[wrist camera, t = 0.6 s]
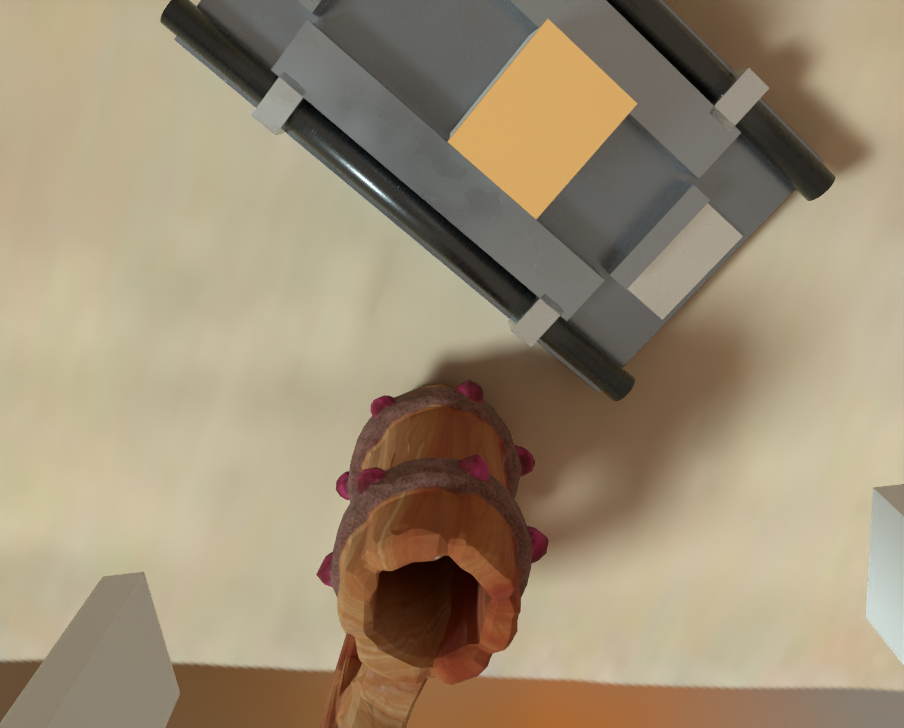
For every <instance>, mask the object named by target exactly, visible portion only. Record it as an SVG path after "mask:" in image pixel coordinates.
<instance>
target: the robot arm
mask: <svg viewBox="0 0 904 728" xmlns="http://www.w3.org/2000/svg"><path fill="white" fill-rule="evenodd" d="M866 618H867V620H868V621H869V622H870V623H871V625H872V626H873V627H874V628H875V630H876V631H877V632H878V634H879V635H880V636H881V637H882V639H883V640H884V641H885V642H886V644H887V645H888V646H889V647H890V649H891V650H892V651H893V652H894V654H895V655H896V656H897V657H898V659H899V660H900V661H901V662H902V664H903V665H904V484H900V485H892V486H883V487H874V488H873V497H872V515H871V534H870V552H869V571H868V589H867V608H866ZM179 695H180V692H179V688H178V685H177V682H176V678H175V675H174V671H173V668H172V665H171V661H170V658H169V655H168V651H167V648H166V644H165V641H164V638H163V634H162V631H161V628H160V624H159V621H158V618H157V614H156V611H155V607H154V604H153V601H152V597H151V594H150V591H149V587H148V584H147V580H146V577H145V574H144V572H139V573H130V574H122V575H113V576H104V577H102V578H101V580H100V581H99V583H98V584H97V586H96V587H95V588H94V590H93V591H92V593H91V594H90V596H89V597H88V598H87V600H86V601H85V603H84V604H83V606H82V607H81V608H80V610H79V611H78V613H77V614H76V616H75V617H74V618H73V620H72V621H71V623H70V624H69V626H68V627H67V628H66V630H65V631H64V633H63V634H62V636H61V637H60V638H59V640H58V641H57V643H56V644H55V645H54V647H53V648H52V650H51V651H50V653H49V654H48V655H47V657H46V658H45V660H44V661H43V663H42V664H41V666H40V667H39V668H38V670H37V671H36V673H35V674H34V675H33V677H32V678H31V680H30V681H29V683H28V684H27V685H26V687H25V688H24V690H23V691H22V693H21V694H20V695H19V697H18V698H17V700H16V701H15V703H14V704H13V705H12V707H11V708H10V710H9V711H8V713H7V714H6V716H5V717H4V718H3V720H2V721H1V723H0V728H165V727H166V724H167V722H168V720H169V717H170V715H171V713H172V710H173V708H174V706H175V704H176V701H177V699H178V697H179Z"/></svg>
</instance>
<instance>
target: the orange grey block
mask: <svg viewBox="0 0 904 728" xmlns="http://www.w3.org/2000/svg"><path fill="white" fill-rule="evenodd" d="M636 105H637V103H636V102H635V101H634V100H633V99H632V98H631V97H630V96H629V95H628V94H627V93H626V92H625V91H624V90H623V89H622V88H620V87H619V86H618V85H617V84H616V83H615V82H614V81H613V80H612V79H611V78H610V77H609V76H608V75H607V74H606V73H605V72H604V71H603V70H602V69H601V68H599V67H598V66H597V65H596V64H595V63H594V62H593V61H592V60H591V59H590V58H589V57H588V56H587V55H586V54H585V53H584V52H583V51H582V50H581V49H580V48H578V47H577V46H576V45H575V44H574V43H573V42H572V41H571V40H570V39H569V38H568V37H567V36H566V35H565V34H564V33H563V32H562V31H561V30H560V29H558V28H557V27H556V26H555V25H554V24H553V23H552V22H551V21H550V20H549V19H547V20H546V21H545V22H544V23H543V24H542V25H541V27H539V28H538V29H537V30H535V31H534V32H533V33H532V34H530V35H529V36H528V37H527V39H526V40H525V41H524V42H523V44H522V45H521V46H520V47H519V48H518V50H517V51H516V52H515V53H514V55H513V56H512V57H511V58H510V60H509V61H508V62H507V63H506V64H505V66H504V67H503V68H502V69H501V71H500V72H499V73H498V74H497V76H496V77H495V78H494V79H493V81H492V82H491V83H490V84H489V85H488V87H487V88H486V89H485V90H484V92H483V93H482V94H481V95H480V97H479V98H478V99H477V100H476V101H475V103H474V104H473V105H472V106H471V108H470V109H469V110H468V111H467V113H466V114H465V115H464V116H463V117H462V119H461V120H460V121H459V122H458V124H457V125H456V126H455V127H454V129H453V130H452V131H451V132H450V139H449V140H448V143H449V144H450V145H452V146H453V147H454V148H455V149H456V150H457V151H458V152H460V153H461V154H462V155H463V156H464V157H465V158H466V159H467V160H469V161H470V162H471V163H472V164H473V165H474V166H475V167H477V168H478V169H479V170H480V171H481V172H482V173H483V174H485V175H486V176H487V177H488V178H489V179H490V180H491V181H493V182H494V183H495V184H496V185H497V186H498V187H499V188H501V189H502V190H503V191H504V192H505V193H506V194H507V195H509V196H510V197H511V198H512V199H513V200H514V201H515V202H517V203H518V204H519V205H520V206H521V207H522V208H523V209H525V210H526V211H527V212H528V213H529V214H530V215H531V216H533V217H534V218H535V219H537V218H538V217H539V216H540V215H541V213H542V212H543V211H544V210H545V209H546V208H547V207H548V205H549V204H550V203H551V202H552V201H553V200H554V199H555V197H556V196H557V195H558V194H559V193H560V192H561V191H562V189H563V188H564V187H565V186H566V185H567V184H568V183H569V181H570V180H571V179H572V178H573V177H574V176H575V175H576V174H577V172H578V171H579V170H580V169H581V168H582V167H583V166H584V164H585V163H586V162H587V161H588V160H589V159H590V158H591V156H592V155H593V154H594V153H595V152H596V151H597V150H598V148H599V147H600V146H601V145H602V144H603V143H604V142H605V140H606V139H607V138H608V137H609V136H610V135H611V134H612V132H613V131H614V130H615V129H616V128H617V127H618V126H619V124H620V123H621V122H622V121H623V120H624V119H625V118H626V116H627V115H628V114H629V113H630V112H631V111H632V110H633V108H634V107H635V106H636Z"/></svg>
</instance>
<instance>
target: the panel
mask: <svg viewBox="0 0 904 728" xmlns="http://www.w3.org/2000/svg"><path fill="white" fill-rule="evenodd" d="M547 19H549V20H550V21H551V22H552V23H553V24H554V25H555V26H556V27H557V28H558V29H560V30H561V31H562V32H563V33H564V34H565V35H566V36H567V37H568V38H569V39H570V40H571V41H572V42H573V43H574V44H575V45H576V46H577V47H578V48H580V49H581V50H582V51H583V52H584V53H585V54H586V55H587V56H588V57H589V58H590V59H591V60H592V61H593V62H594V63H595V64H596V65H597V66H598V67H599V68H601V69H602V70H603V71H604V72H605V73H606V74H607V75H608V76H609V77H610V78H611V79H612V80H613V81H614V82H615V83H616V84H617V85H618V86H619V87H620V88H622V89H623V90H624V91H625V92H626V93H627V94H628V95H629V96H630V97H631V98H632V99H633V100H634V101H635V102H636V103H637V105H636V106H635V107H634V108H633V110H632V111H631V112H630V113H629V114H628V115H627V116H626V118H625V119H624V120H623V121H622V122H621V123H620V124H619V126H618V127H617V128H616V129H615V130H614V131H613V132H612V134H611V135H610V136H609V137H608V138H607V139H606V140H605V142H604V143H603V144H602V145H601V146H600V147H599V148H598V150H597V151H596V152H595V153H594V154H593V155H592V156H591V158H590V159H589V160H588V161H587V162H586V163H585V164H584V166H583V167H582V168H581V169H580V170H579V171H578V172H577V174H576V175H575V176H574V177H573V178H572V179H571V180H570V181H569V183H568V184H567V185H566V186H565V187H564V188H563V189H562V191H561V192H560V193H559V194H558V195H557V196H556V197H555V199H554V200H553V201H552V202H551V203H550V204H549V205H548V207H547V208H546V209H545V210H544V211H543V212H542V213H541V215H540V216H539V217H538V218H537V219H535V218H534V217H533V216H531V215H530V214H529V213H528V212H527V211H526V210H525V209H523V208H522V207H521V206H520V205H519V204H518V203H517V202H515V201H514V200H513V199H512V198H511V197H510V196H509V195H507V194H506V193H505V192H504V191H503V190H502V189H501V188H499V187H498V186H497V185H496V184H495V183H494V182H493V181H491V180H490V179H489V178H488V177H487V176H486V175H485V174H483V173H482V172H481V171H480V170H479V169H478V168H477V167H475V166H474V165H473V164H472V163H471V162H470V161H469V160H467V159H466V158H465V157H464V156H463V155H462V154H461V153H460V152H458V151H457V150H456V149H455V148H454V147H453V146H452V145H450V144H449V143H448V140H449V139H450V132H451V131H452V130H453V129H454V127H455V126H456V125H457V124H458V122H459V121H460V120H461V119H462V117H463V116H464V115H465V114H466V113H467V111H468V110H469V109H470V108H471V106H472V105H473V104H474V103H475V101H476V100H477V99H478V98H479V97H480V95H481V94H482V93H483V92H484V90H485V89H486V88H487V87H488V85H489V84H490V83H491V82H492V81H493V79H494V78H495V77H496V76H497V74H498V73H499V72H500V71H501V69H502V68H503V67H504V66H505V64H506V63H507V62H508V61H509V60H510V58H511V57H512V56H513V55H514V53H515V52H516V51H517V50H518V48H519V47H520V46H521V45H522V44H523V42H524V41H525V40H526V39H527V37H528V36H529V35H530V34H532V33H533V32H534V31H535V30H537V29H538V28H539V27H541V25H542V24H543V23H544V22H545V21H546V20H547ZM161 23H162V24H163V25H164V26H166V27H167V28H168V29H169V30H170V31H172V32H173V33H174V34H175V35H176V38H175V39H174V40H175V41H177V42H178V43H179V44H180V45H181V46H183V47H184V48H185V49H186V50H187V51H189V52H190V53H191V54H192V55H193V56H195V57H196V58H197V59H198V60H199V61H201V62H202V63H203V64H204V65H205V66H207V67H208V68H209V69H210V70H211V71H213V72H214V73H215V74H216V75H217V76H219V77H220V78H221V79H222V80H223V81H225V82H226V83H227V84H228V85H229V86H231V87H232V88H233V89H234V90H235V91H237V92H238V93H239V94H240V95H241V96H243V97H244V98H245V99H246V100H248V101H249V102H250V103H251V104H252V105H254V106H255V107H256V109H255V110H254V112H253V113H252V116H253V117H254V118H255V119H256V120H258V121H259V122H260V123H261V124H263V125H264V126H265V127H266V128H267V129H269V130H270V131H271V132H272V133H273V134H275V135H278V134H282V133H284V131H285V132H286V133H287V134H288V135H290V136H291V137H292V138H293V139H294V140H296V141H297V142H298V143H299V144H300V145H302V146H303V147H304V148H305V149H306V150H308V151H309V152H310V153H311V154H312V155H314V156H315V157H316V158H317V159H318V160H320V161H321V162H322V163H323V164H324V165H326V166H327V167H328V168H329V169H330V170H332V171H333V172H334V173H335V174H336V175H338V176H339V177H340V178H341V179H342V180H344V181H345V182H346V183H347V184H348V185H350V186H351V187H352V188H353V189H354V190H356V191H357V192H358V193H359V194H360V195H362V196H363V197H364V198H365V199H366V200H368V201H369V202H370V203H371V204H372V205H374V206H375V207H376V208H377V209H378V210H380V211H381V212H382V213H383V214H384V215H386V216H387V217H388V218H389V219H390V220H392V221H393V222H394V223H395V224H396V225H398V226H399V227H400V228H401V229H402V230H404V231H405V232H406V233H407V234H408V235H410V236H411V237H412V238H413V239H414V240H416V241H417V242H418V243H419V244H420V245H422V246H423V247H424V248H425V249H426V250H428V251H429V252H430V253H431V254H432V255H434V256H435V257H436V258H437V259H438V260H440V261H441V262H442V263H443V264H444V265H446V266H447V267H448V268H449V269H450V270H452V271H453V272H454V273H455V274H456V275H458V276H459V277H460V278H461V279H462V280H464V281H465V282H466V283H467V284H468V285H470V286H471V287H472V288H473V289H474V290H476V291H477V292H478V293H479V294H480V295H482V296H483V297H484V298H485V299H486V300H488V301H489V302H490V303H491V304H492V305H494V306H495V307H496V308H497V309H498V310H500V311H501V312H502V313H503V314H504V315H506V316H507V317H508V318H509V320H508V321H509V325H510V329H511V331H512V332H513V333H515V334H516V335H517V336H518V337H519V338H521V339H522V340H523V341H524V342H525V343H527V344H528V345H529V346H530V347H532V346H533V345H534V344H535V342H536V341H537V342H538V343H539V344H540V345H542V346H543V347H544V348H545V349H546V350H548V351H549V352H550V353H551V354H553V355H554V356H555V357H556V358H557V359H559V360H560V361H561V362H562V363H563V364H565V365H566V366H567V367H568V368H569V369H571V370H572V371H573V372H574V373H575V374H577V375H578V376H579V377H580V378H581V379H583V380H584V381H585V382H586V383H587V384H589V385H590V386H591V387H592V388H593V389H595V390H596V391H597V392H599V391H600V390H602V391H603V392H604V393H605V394H606V395H608V396H609V397H610V398H611V399H612V400H614V401H619V400H621V399H622V398H624V397H625V396H626V395H627V394H628V393H629V392H630V390H631V389H632V387H633V385H634V382H635V379H634V377H632V376H631V375H630V374H629V373H628V372H626V371H625V370H624V369H623V367H624V366H625V365H626V363H627V362H628V361H629V360H630V359H631V358H632V357H633V356H634V355H635V354H636V353H637V352H638V351H639V350H640V349H641V348H642V347H643V346H644V345H645V344H646V343H647V342H648V341H649V340H650V339H651V338H652V337H653V336H654V335H655V334H656V332H657V331H658V330H659V329H660V328H661V327H662V326H663V325H664V324H665V323H666V322H667V321H668V320H669V319H670V318H671V317H672V316H673V315H674V314H675V313H676V312H677V311H678V310H679V309H680V308H681V307H682V306H683V305H684V304H685V303H686V302H687V300H688V299H689V298H690V297H691V296H692V295H693V294H694V293H695V292H696V291H697V290H698V289H699V288H700V287H701V286H702V285H703V284H704V283H705V282H706V281H707V280H708V279H709V278H710V277H711V276H712V275H713V274H714V273H715V272H716V271H717V269H718V268H719V267H720V266H721V265H722V264H723V263H724V262H725V261H726V260H727V259H728V258H729V257H730V256H731V255H732V254H733V253H734V252H735V251H736V250H737V249H738V248H739V247H740V246H741V245H742V244H743V243H744V242H745V241H746V240H747V239H748V237H749V236H750V235H751V234H752V233H753V232H754V231H755V230H756V229H757V228H758V227H759V226H760V225H761V224H762V223H763V222H764V221H765V220H766V219H767V218H768V217H769V216H770V215H771V214H772V213H773V212H774V211H775V210H776V209H777V208H778V206H779V205H780V204H781V203H782V202H783V201H784V200H785V199H786V198H787V197H788V196H789V195H790V194H791V193H792V192H793V191H794V190H795V189H796V190H797V191H798V192H799V193H800V194H801V195H802V196H804V197H805V198H806V199H807V200H808V201H811V200H814V199H816V198H818V197H820V196H821V195H822V194H824V193H825V192H826V191H827V190H828V189H829V188H830V187H831V185H832V184H833V182H834V180H835V176H834V175H833V174H832V173H831V172H830V171H829V170H828V169H827V168H826V167H825V166H824V165H823V164H822V163H821V162H822V161H823V160H822V159H821V158H820V157H819V156H818V155H817V154H816V153H815V152H814V151H813V150H812V149H811V148H810V147H809V146H808V145H807V144H806V143H805V142H804V141H803V140H802V139H801V138H800V137H799V136H798V135H797V134H796V133H795V132H794V131H793V130H792V129H791V128H790V127H789V126H788V125H787V124H786V123H785V122H784V121H783V120H782V119H781V118H780V117H779V116H778V115H777V114H776V113H775V112H774V111H773V110H772V109H771V108H770V107H769V106H768V105H767V104H766V103H765V102H764V101H763V100H762V99H761V97H762V96H763V95H764V94H765V93H766V92H767V90H768V89H769V87H768V86H767V85H766V84H765V83H764V82H763V81H762V80H761V79H760V78H759V77H758V76H757V75H756V74H755V73H754V72H753V71H752V70H751V69H750V68H738V69H735V70H734V71H733V70H732V69H731V68H730V67H729V66H728V65H727V64H726V63H725V62H724V61H723V60H722V59H721V58H720V57H719V56H718V55H717V54H716V53H715V52H714V51H713V50H712V49H711V48H710V47H709V46H708V45H707V44H706V43H705V42H704V41H703V40H702V39H701V38H700V37H699V36H698V35H697V34H696V33H695V32H694V31H693V30H692V29H691V28H690V27H689V26H688V25H687V24H686V23H685V22H684V21H683V20H682V19H681V18H680V17H679V16H678V15H677V14H676V13H675V12H674V11H673V10H672V9H671V8H670V7H669V6H668V5H667V4H666V3H665V2H664V1H663V0H201V1H200V3H199V4H198V6H195V5H194V4H193V3H192V2H191V1H190V0H171V1H170V3H169V4H168V5H167V7H166V8H165V10H164V11H163V14H162V16H161Z"/></svg>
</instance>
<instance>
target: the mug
mask: <svg viewBox="0 0 904 728" xmlns="http://www.w3.org/2000/svg"><path fill="white" fill-rule="evenodd" d="M371 413H372V415H373V416H372V417H371V418H370V420H369V421H368V422H367V423H366V425H365V426H364V428H363V430H362V432H361V434H360V435H359V437H358V439H357V443H356V446H355V450H354V453H353V456H352V460H351V464H350V471H348V472H345V473H344V474H342V475H341V476H340V477H339V479H338V480H337V482H336V490H337V492H338V493H339V495H340V496H341V497H343V498H344V499H346V500H350V502H351V503H350V505H349V506H348V508H347V510H346V511H345V513H344V515H343V518H342V521H341V523H340V526H339V529H338V532H337V537H336V541H335V545H334V549H333V552H332V553H330V554H329V555H327V556H326V557H325V559H324V560H323V562H322V564H321V566H320V568H319V570H318V572H317V574H316V575H317V576H318V577H319V578H320V580H321V581H322V582H323V583H324V584H325V585H328V586H330V587H333V589H334V591H335V593H336V595H337V598H338V615H339V619H340V623H341V626H342V628H343V630H344V631H345V633H347V634H346V637H345V641H344V644H343V647H342V650H341V654H340V657H339V660H338V663H337V667H336V670H335V673H334V677H333V680H332V685H331V689H330V692H329V696H328V699H327V703H326V706H325V709H324V713H323V717H322V722H321V725H320V728H406V726H407V723H408V720H409V717H410V715H411V712H412V709H413V706H414V704H415V702H416V700H417V698H418V696H419V694H420V692H421V690H422V689H423V687H424V685H425V683H426V681H427V679H428V678H431V677H436V678H438V679H439V680H441V681H443V682H444V683H447V684H450V685H453V684H456V683H459V682H462V681H465V680H468V679H471V678H474V677H477V676H478V675H479V674H480V673H481V672H482V671H483V670H484V669H485V668H486V667H487V666H488V663H489V661H490V658H491V656H492V653H495V652H499V651H502V650H505V649H506V648H507V647H508V646H509V644H510V643H511V642H512V640H513V638H514V636H515V634H516V633H517V620H518V615H519V613H520V611H521V610H520V608H521V597H522V595H523V592H524V590H525V588H526V586H527V582H528V578H529V573H530V569H531V563H534V562H536V561H538V560H539V559H540V558H541V557H543V556H544V555H545V554H546V551H547V546H548V542H549V541H548V539H547V537H546V536H545V535H543V534H542V533H541V532H540V531H538V530H537V529H536V528H533V527H529V526H527V525H526V523H525V520H524V518H523V515H522V513H521V510H520V508H519V506H518V505H517V503H516V501H515V500H514V498H515V496H516V492H517V487H518V483H519V478H520V476H523V475H525V474H527V473H529V472H531V471H532V469H533V468H534V466H535V460H534V458H533V456H532V454H531V453H530V452H529V451H528V450H526V449H525V448H522V447H519V446H516V445H514V443H513V440H512V438H511V435H510V432H509V430H508V428H507V427H506V425H505V424H504V422H503V420H502V419H501V418H500V417H499V415H498V414H497V413H496V412H495V410H494V409H493V408H491V407H490V406H489V405H488V404H487V403H486V402H485V401H484V400H483V391H482V389H481V387H480V386H479V385H478V384H477V383H474V382H472V381H466V382H464V383H462V384H461V385H459V386H457V388H452V387H449V386H446V385H442V384H438V385H430V386H424V387H421V388H419V389H417V390H413V391H410V392H407V393H405V394H402V395H400V396H398V397H395V398H393V397H391V396H382V397H380V398H377V399H375V400H374V401H373V403H372V404H371Z"/></svg>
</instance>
